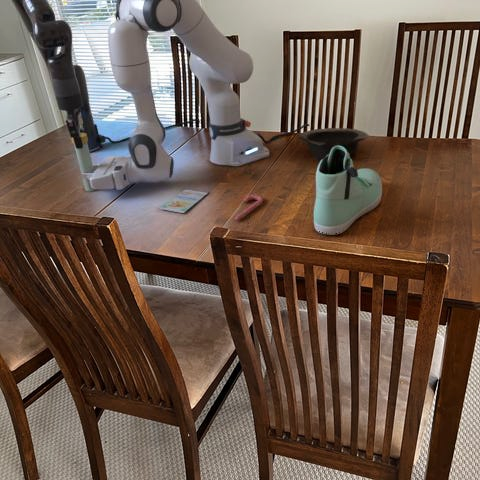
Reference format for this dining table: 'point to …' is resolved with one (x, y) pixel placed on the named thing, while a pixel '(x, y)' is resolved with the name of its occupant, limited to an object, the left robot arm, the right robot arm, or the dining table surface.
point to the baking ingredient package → (183, 201)
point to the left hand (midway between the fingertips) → (80, 144)
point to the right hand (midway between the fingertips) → (85, 172)
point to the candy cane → (250, 206)
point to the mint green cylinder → (85, 164)
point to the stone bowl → (332, 140)
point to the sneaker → (343, 192)
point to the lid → (83, 138)
